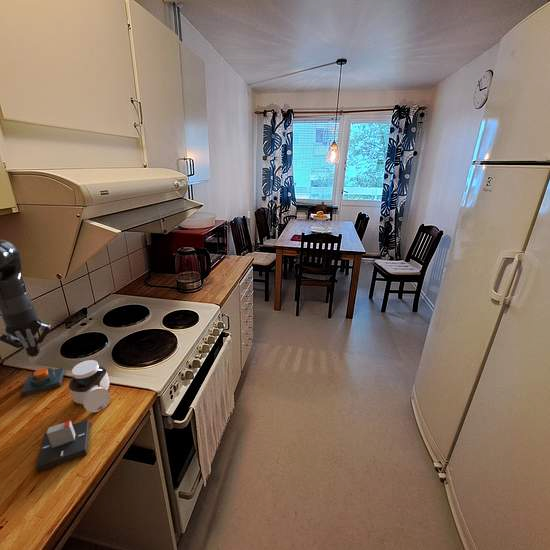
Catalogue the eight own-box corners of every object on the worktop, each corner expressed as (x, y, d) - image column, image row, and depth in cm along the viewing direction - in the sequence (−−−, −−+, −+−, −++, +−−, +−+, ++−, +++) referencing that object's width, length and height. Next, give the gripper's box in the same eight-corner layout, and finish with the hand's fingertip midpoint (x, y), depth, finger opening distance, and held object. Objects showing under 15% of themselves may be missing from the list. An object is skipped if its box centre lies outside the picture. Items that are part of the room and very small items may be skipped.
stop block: (23, 397, 90) (19, 388, 89) (29, 381, 97) (25, 371, 95) (61, 387, 94) (58, 377, 93) (64, 372, 101) (61, 363, 99)
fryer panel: (39, 473, 69) (35, 466, 68) (47, 439, 77) (44, 432, 76) (87, 455, 73) (85, 448, 72) (90, 425, 81) (88, 418, 80)
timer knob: (52, 448, 72) (46, 433, 70) (53, 441, 74) (47, 427, 72) (74, 440, 74) (69, 425, 72) (75, 434, 76) (70, 419, 74)
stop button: (33, 381, 92) (32, 376, 91) (36, 374, 95) (34, 369, 94) (47, 377, 93) (46, 373, 93) (49, 370, 96) (48, 366, 96)
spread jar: (94, 383, 96) (87, 355, 92) (124, 388, 94) (118, 360, 90) (64, 412, 85) (53, 381, 81) (97, 418, 84) (88, 387, 79)
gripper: (46, 297, 90) (61, 343, 97) (-9, 306, 85) (11, 354, 91) (41, 308, 84) (58, 355, 91) (-18, 318, 79) (4, 368, 85)
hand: (34, 354), depth 91 cm, fingers closed
